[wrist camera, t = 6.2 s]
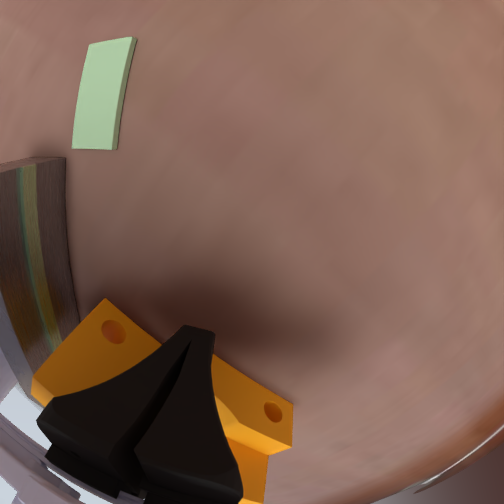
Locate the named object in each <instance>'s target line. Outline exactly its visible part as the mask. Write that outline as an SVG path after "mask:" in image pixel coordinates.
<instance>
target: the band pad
mask: <svg viewBox="0 0 504 504" xmlns="http://www.w3.org/2000/svg"><path fill="white" fill-rule="evenodd" d="M136 41H137V39H136V38H134V37H126V38H119V39H114V40H109V41H104V42H99V43H94V44H90V45H89V49H88V52H87V56H86V60H85V64H84V69H83V73H82V78H81V83H80V88H79V94H78V100H77V106H76V113H75V121H74V129H73V140H72V148H80V149H108V150H113V149H117V143H118V134H119V126H120V119H121V112H122V106H123V100H124V94H125V88H126V83H127V78H128V74H129V69H130V64H131V60H132V56H133V52H134V48H135V44H136Z"/></svg>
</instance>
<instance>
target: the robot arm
mask: <svg viewBox="0 0 504 504" xmlns="http://www.w3.org/2000/svg"><path fill="white" fill-rule="evenodd" d="M214 340H215V333H214V332H212V331H208V330H204V329H200V328H196V327H192V326H188V325H184V326H182V327H181V328H180V329H179V330H178V331H177V332H176V333H175V334H174V335H173V336H172V337H171V338H170V339H169V340H167V341H166V342H165V343H164V344H163V345H162V346H160V347H159V348H158V349H157V350H155V351H154V352H153V353H152V354H150V355H149V356H147V357H146V358H145V359H143V360H142V361H140V362H139V363H138V364H136V365H135V366H133V367H131V368H130V369H128V370H126V371H125V372H123V373H121V374H119V375H117V376H115V377H113V378H111V379H109V380H107V381H105V382H103V383H100V384H98V385H95V386H93V387H90V388H87V389H84V390H81V391H78V392H75V393H71V394H66V395H62V396H58V397H53V398H52V400H51V401H50V402H49V403H48V404H47V405H46V407H45V408H44V410H43V411H42V413H41V414H40V415H39V417H38V418H37V420H36V421H37V425H38V427H39V428H40V430H41V431H42V432H43V433H44V434H45V436H46V437H47V438H48V439H49V441H50V442H51V443H52V445H51V447H50V448H49V450H46V449H45V448H44V447H42V446H41V445H39V444H38V443H36V442H35V441H34V440H32V439H31V438H30V437H28V436H27V435H26V434H25V433H23V432H22V431H21V430H20V429H18V428H17V427H16V426H15V425H13V424H12V423H11V422H10V421H9V420H7V419H6V418H5V417H4V416H3V415H2V414H1V413H0V476H1V477H2V478H3V479H4V480H5V481H6V482H7V483H8V484H9V485H10V486H12V487H13V488H14V489H15V490H16V491H17V494H16V496H15V498H14V500H13V502H12V504H85V503H83V502H81V501H79V498H80V493H78V492H77V491H75V490H74V489H73V488H71V487H70V486H68V485H67V484H66V483H65V482H63V481H62V480H61V479H60V478H58V477H57V476H56V475H54V474H53V473H52V472H50V471H49V470H48V468H47V467H49V468H50V469H52V470H53V471H55V472H56V473H58V474H59V475H61V476H63V477H64V478H66V479H67V480H69V481H71V482H72V483H74V484H76V485H77V486H79V487H81V488H83V489H85V490H86V491H88V492H90V493H92V494H94V495H96V496H98V497H100V498H102V499H104V500H106V501H108V502H110V503H113V504H238V503H239V502H240V501H241V499H242V498H243V492H244V491H243V484H242V479H241V475H240V472H239V467H238V463H237V461H236V459H235V457H234V455H233V453H232V451H231V449H230V446H229V444H228V441H227V439H226V436H225V433H224V430H223V427H222V424H221V421H220V417H219V414H218V410H217V406H216V401H215V396H214V390H213V383H212V372H211V364H212V357H213V348H214ZM17 382H18V380H17V379H16V377H15V375H14V373H13V371H12V369H11V368H10V366H9V364H8V362H7V360H6V358H5V356H4V354H3V352H2V350H1V347H0V403H1V401H3V399H4V398H5V397H6V396H7V394H8V393H9V392H10V391H11V389H12V388H13V387H14V386H15V385H16V383H17ZM143 499H145V500H143Z"/></svg>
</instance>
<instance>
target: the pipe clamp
mask: <svg viewBox="0 0 504 504" xmlns="http://www.w3.org/2000/svg"><path fill="white" fill-rule="evenodd" d="M160 346H162V344H161V343H159V342H158V341H157V340H155V339H154V338H153V337H151V336H150V335H149V334H148V333H146V332H145V331H144V330H143V329H141V328H140V327H139V326H138V325H136V324H135V323H134V322H133V321H132V320H130V319H129V318H128V317H127V316H126V315H125V314H123V313H122V312H121V311H120V310H119V309H118V308H116V307H115V306H114V305H113V304H112V303H111V302H110V301H109V300H107V299H106V298H104V299H103V300H102V301H101V302H100V303H99V304H98V305H97V306H96V307H95V308H94V309H93V311H92V312H91V313H90V314H89V315H88V316H87V317H86V318H85V319H84V320H83V321H82V322H81V323H80V324H79V325H78V326H77V327H76V328H75V329H74V330H73V331H72V332H71V333H70V335H69V336H68V337H67V338H66V339H65V340H64V341H63V342H62V343H61V344H60V345H59V346H58V348H57V349H56V350H55V351H54V352H53V353H52V354H51V355H50V357H49V358H48V359H47V360H46V361H45V362H44V363H43V365H42V366H41V367H40V368H39V369H38V370H37V372H36V373H35V374H34V375H33V377H32V386H31V395H32V396H33V397H34V398H35V399H37V400H38V401H39V402H40V403H41V404H42V405H43V406H44V407H46V405H47V404H48V403H49V402H50V401H51V400H52V398H53V397H58V396H62V395H66V394H71V393H75V392H78V391H81V390H84V389H87V388H90V387H93V386H95V385H98V384H100V383H103V382H105V381H107V380H109V379H111V378H113V377H115V376H117V375H119V374H121V373H123V372H125V371H126V370H128V369H130V368H131V367H133V366H135V365H136V364H138V363H139V362H140V361H142V360H143V359H145V358H146V357H147V356H149V355H150V354H152V353H153V352H154V351H155V350H157V349H158V348H159V347H160ZM211 372H212V383H213V390H214V396H215V401H216V406H217V410H218V414H219V417H220V421H221V424H222V427H223V430H224V433H225V436H226V439H227V441H228V444H229V446H230V449H231V451H232V453H233V455H234V457H235V459H236V461H237V463H238V467H239V472H240V475H241V479H242V484H243V491H244V492H243V498H242V499H241V501H240V502H239V503H238V504H263V501H264V492H265V484H266V475H267V465H268V456H269V455H272V454H275V453H277V452H280V451H283V450H286V449H288V448H291V447H292V428H293V404H292V403H290V402H288V401H286V400H285V399H283V398H281V397H280V396H278V395H276V394H274V393H273V392H271V391H269V390H268V389H266V388H265V387H263V386H261V385H260V384H258V383H256V382H255V381H253V380H252V379H250V378H249V377H247V376H245V375H244V374H242V373H241V372H239V371H238V370H236V369H235V368H233V367H232V366H230V365H229V364H227V363H226V362H224V361H223V360H221V359H220V358H218V357H217V356H216V355H214V354H213V357H212V364H211Z"/></svg>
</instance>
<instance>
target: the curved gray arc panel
mask: <svg viewBox="0 0 504 504" xmlns="http://www.w3.org/2000/svg"><path fill="white" fill-rule="evenodd" d="M79 324H80V320H79V315H78V311H77V306H76V301H75V295H74V290H73V284H72V278H71V271H70V263H69V255H68V245H67V234H66V218H65V158H57V157H30V158H25V159H20V160H16V161H11V162H7V163H3V164H0V347H1V350H2V352H3V354H4V356H5V358H6V360H7V362H8V364H9V366H10V368H11V369H12V371H13V373H14V375H15V377H16V379H17V380H18V382H19V384H20V386H21V387H22V389H23V391H24V392H25V394H26V395H27V397H28V398H30V399H31V400H32V401H34V402H35V403H37V404H38V405H40V406H41V407H43V408H45V407H44V406H43V405H42V404H41V403H40V402H39V401H38V400H37V399H35V398H34V397H33V396H32V395H31V386H32V377H33V375H34V374H35V373H36V372H37V370H38V369H39V368H40V367H41V366H42V365H43V363H44V362H45V361H46V360H47V359H48V358H49V357H50V355H51V354H52V353H53V352H54V351H55V350H56V349H57V348H58V346H59V345H60V344H61V343H62V342H63V341H64V340H65V339H66V338H67V337H68V336H69V335H70V333H71V332H72V331H73V330H74V329H75V328H76V327H77V326H78V325H79Z"/></svg>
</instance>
